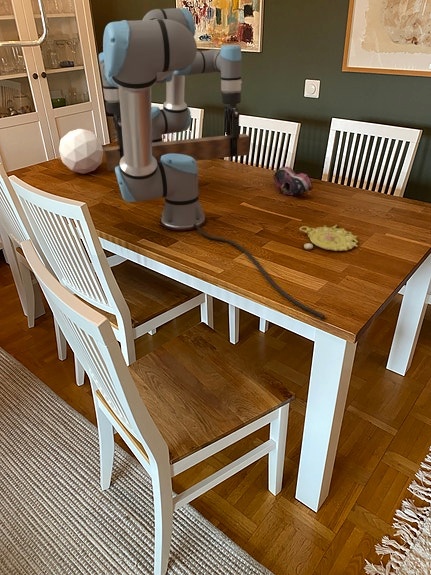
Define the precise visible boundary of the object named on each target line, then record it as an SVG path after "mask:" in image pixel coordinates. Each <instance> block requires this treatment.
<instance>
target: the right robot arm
mask: <svg viewBox="0 0 431 575" xmlns="http://www.w3.org/2000/svg"><path fill="white" fill-rule="evenodd" d="M102 47H103V48H102V52H100V53H99V54H98V61H99V62H98V65H99V68H100V74H101V80H102V90H103V97H104V100H105V109H106V112H107V113H108V114H112V115H113V116H112V121H113V124H114V126H113V128H114V131H115V133H116V134H115V135H116V142H117V146H119V149H118V151H120V158H121V160H120V166H117V167H115V170H114V172H115V176H116V180H117V184H118V186H119V191H120V194H121V196H122V199H123V200H124V201H125V202H126V203H138V202H142V201H149V200H156V199H163V198H164V204H163V209H162V213H161V214H160V218H161V219H160V220H161V225H162V227H163V228H165V229H167V230H170V231H175V232H176V231H177V232H185V231H186V232H187V231H192V230H195V229H197V230H198V231H199V232H200V233H201V234H202V235H203V236H204V237H206V238H208V239H211V240H215V241H221V242H226V243H229V244H230V245H233V246H235V247H236V248H237V249H239V250H240V251H242V252H243V254H245V255H246V256H248V258H249V259H250V260H251V261H252V262H253V263H254V265H256V267H257V268H258V269H259V271H260V272H261V273H262V274H263V276H264V277H265V278H266V280H268V282H269V283H270V284H271V285H272V287H273V288H274V289H276V291H277V292H279V293H280V294H282V296H284V297H285V298H286V299H287V300H289V301H290V302H292V303H293V304H294V305H296V306H298V307H300V308H301V309H302V310H305V311H307V312H309V313H311V314H313V315H316V316H318V317H320V318H322V319H324V318H325V317H326V315H325V314H323V313H321V312H318V311H317V310H315V309H313V308H310V307H308V306H306V305H304V304H303V303H301V302H299V301H298V300H296V299H294V298H293V297H291V296H290V295H289V294H288V293H287V292H285V291H284V290H283V289H281V287H280V286H279V285H277V283H276V282H275V281H274V280H273V279H272V278H271V276H269V275H268V273H267V272H266V271H265V270H264V268H263V267H262V266H261V264H260V263H259V261H257V260H256V258H255V257H253V255H251V253H249V252H248V251H247V250H246V249H245V248H243V247H242V246H241V245H239V244H238V243H236V242H234V241H232V240H229V239H226V238H224V237H223V238H222V237H216V236H213V235H210V234H207V233H206V232H205V231H204V230H203V229H202V228H201V227H202V226H203V225H204V224H205V223H206V215H205V212H204V210H203V208H202V204H201V202H200V196H199V176H198V174H199V171H198V164H197V161H195V159H194V158H192V157H190V156H187V155H183V154H165V155H162V156H161V159H160V160H161V161H158V162H157V161H156V159H155V158H154V157H153V156H152V109H151V107H152V87H153V86H155V84H164V83H166V82H170V81H171V80H172V75H173V72H174V71H181V70H184V69H186V68H187V67H189V66H190V65H191V64H192V63H193V61H194V60H195V57H196V54H197V51H198V44H197V42H196V38H195V35H194V36H193V34H192V33H191V32H190V30H189V29H188V28H186V27H185V26H184V25H182V24H181V23H179V22H176V21H173V20H168V19H161V20H143V19H141V20H126V19H123V20H120V21H112V22H109V23H107V25H106V26H105V28H104V32H103V39H102Z"/></svg>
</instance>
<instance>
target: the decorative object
mask: <svg viewBox="0 0 431 575" xmlns="http://www.w3.org/2000/svg"><path fill="white" fill-rule="evenodd" d="M303 228H304V229H305V230H304V229H303ZM299 231H300V232H303V233H305V234H307V237H308V238H309V240H310V241H311V243H304V244H303V248H304V249H305V250H313V249H314V245H315V246H316V247H318V248H321V249H324V250H328V251H335V252H341V251H348V250H352V249H354V247H356V248H358V247H359V245H358V244H357V243H359V240H357V238H359V237H358V235H353V234H352V231H347V230H346V229H345V228H344V227H342V228H338V224H335V225H333V226H331V227H328V226H327V225H326V224H325V225H323V226H322V227H321V226H317V227H316V228H314V227H309V226H308V225H302V226H300V227H299ZM313 244H314V245H313Z"/></svg>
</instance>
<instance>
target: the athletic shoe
mask: <svg viewBox="0 0 431 575" xmlns="http://www.w3.org/2000/svg"><path fill="white" fill-rule="evenodd" d="M272 178H273V181H274V183H270V186H273V187H277V188H278V190H279V192H282V194H284V195H287V196H292V197H296V196H299V195H301V194H305V193H308V192H310V191H313V188H314V187H313V182H312V179H311V177H310V176H309V174H306V173H304V172H299V173H296V171H295V170H294V169H293V168H292V167H289V166H282V167H279V168H278V169H277V170H275V172H274V175H273V176H272Z"/></svg>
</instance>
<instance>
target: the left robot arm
mask: <svg viewBox="0 0 431 575" xmlns="http://www.w3.org/2000/svg"><path fill="white" fill-rule="evenodd" d="M161 19H168V20H173V21H176V22H179V23H181V24H182V25H184V26H185V27H186V28H188V29H189V30H190V32H191V33H192V34H193V36H194V37H195V35H196V23H195V19H194V16H193V14H192V13H191V11H190V10H189V9H187V8H181V7H172V8H154V9H152V10H149V11H148V12H147V13H145V15H144V16H143V18H142V20H161ZM242 59H243V56H242V46H240V45H239V44H223V45H222V46H220V49H217V48H215V49H208V50H197V54H196V57H195V60H194V61H193V63H192V64H191V65H190V66H189V67H187V68H186V69H184V70H181V71H174V72H173V75H172V80H171V81H170V82H165V83H166V89H165V90H166V92H165V93H166V94H165V101H164V102H163V104H162V109H161V108H160V106H151V109H152V143H155V142H164V141H163V135H169V134H175V133H182V132H186V131H187V130H188V129H189V128H190V127H191V123H192V115H191V110H190V108H189V106H188V104H187V102H185V86H186V85H185V82H186V76H191V75H200V74H209V73H220V90H221V95H220V96H221V100H220V101H221V103H222V104H224V105H225V106H223V118H224V119H223V129H224V130H223V132H224V133H225V136H226V135H231V138H229V140H230V156H235V157H237V156H236V155H237V139H238V138H239V134H240V114H241V113H240V111H239V110H238V108H237V105H238V104H240V103H241V102H242V92H241V91H242V85H243V81H242ZM101 145H102V148H104V147H107V145H104V144H102V143H101Z"/></svg>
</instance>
